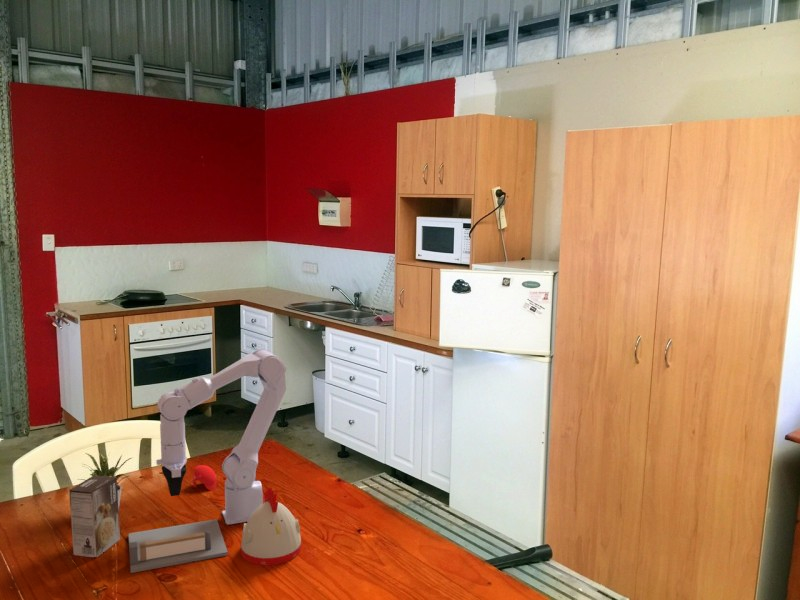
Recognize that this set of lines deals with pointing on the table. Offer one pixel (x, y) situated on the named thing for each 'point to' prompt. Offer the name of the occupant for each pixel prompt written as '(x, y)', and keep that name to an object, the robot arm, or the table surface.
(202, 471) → the cap
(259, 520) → the kitchen timer
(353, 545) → the table surface
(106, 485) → the coffee box
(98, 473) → the house plant
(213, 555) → the frame
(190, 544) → the tan wooden bar
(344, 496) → the table surface
